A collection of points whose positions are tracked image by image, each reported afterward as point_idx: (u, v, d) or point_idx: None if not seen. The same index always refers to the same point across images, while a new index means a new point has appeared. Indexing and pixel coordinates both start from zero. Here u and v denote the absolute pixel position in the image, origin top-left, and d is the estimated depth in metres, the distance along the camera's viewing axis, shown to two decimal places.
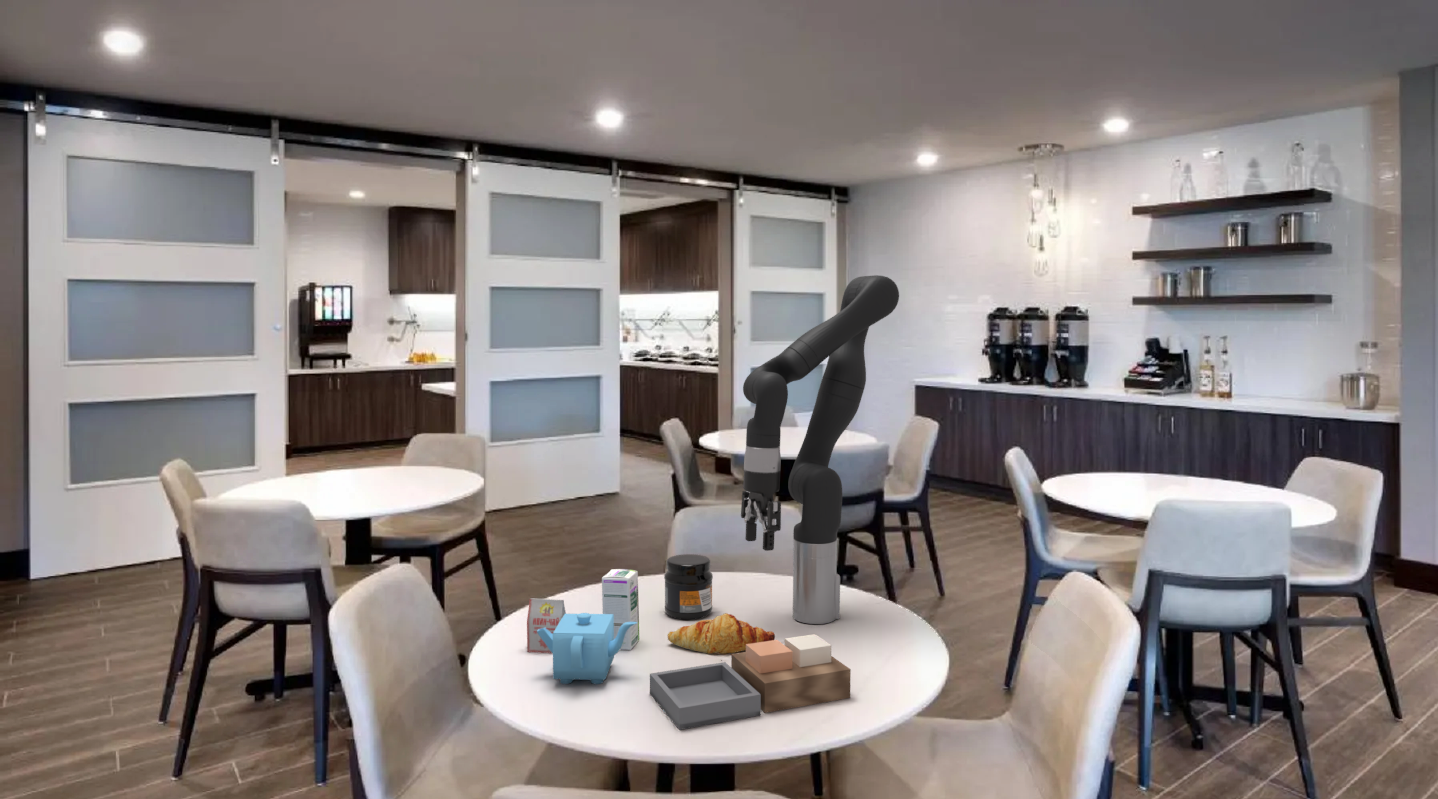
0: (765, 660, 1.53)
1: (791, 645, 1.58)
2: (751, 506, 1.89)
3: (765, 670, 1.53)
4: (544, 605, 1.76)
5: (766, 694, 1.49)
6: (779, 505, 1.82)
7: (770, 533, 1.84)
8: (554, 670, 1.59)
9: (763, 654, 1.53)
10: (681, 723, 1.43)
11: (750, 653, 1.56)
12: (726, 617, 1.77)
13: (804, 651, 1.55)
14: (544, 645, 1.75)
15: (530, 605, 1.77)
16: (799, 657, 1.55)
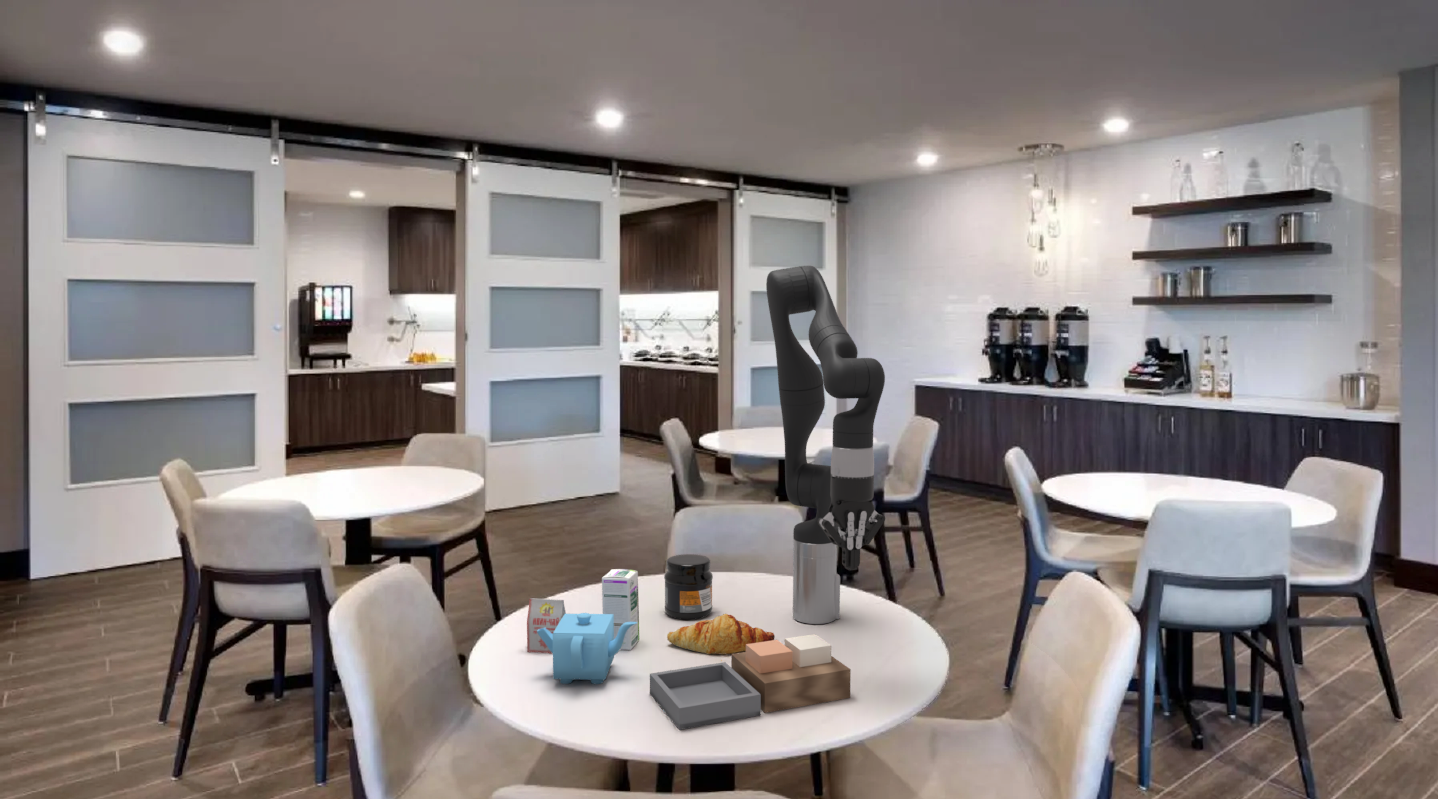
0: (765, 660, 1.53)
1: (791, 645, 1.58)
2: None
3: (765, 670, 1.53)
4: (544, 605, 1.76)
5: (766, 694, 1.49)
6: None
7: None
8: (554, 670, 1.59)
9: (763, 654, 1.53)
10: (681, 723, 1.43)
11: (750, 653, 1.56)
12: (725, 617, 1.77)
13: (804, 651, 1.55)
14: (544, 645, 1.75)
15: (529, 605, 1.77)
16: (799, 657, 1.55)
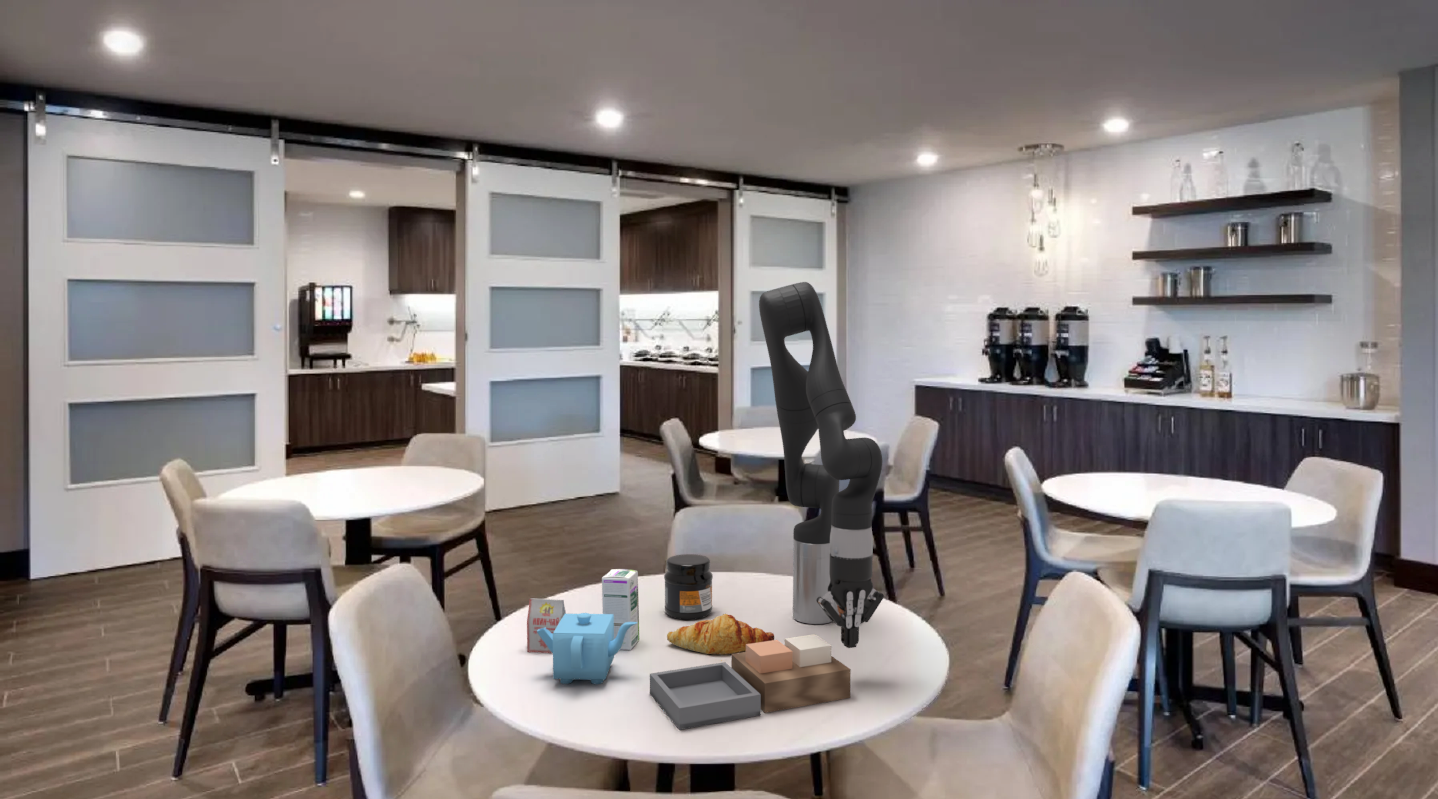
0: (765, 660, 1.53)
1: (791, 645, 1.58)
2: None
3: (765, 670, 1.53)
4: (544, 605, 1.76)
5: (766, 694, 1.49)
6: None
7: None
8: (554, 670, 1.59)
9: (763, 654, 1.53)
10: (681, 723, 1.43)
11: (750, 653, 1.56)
12: (725, 617, 1.77)
13: (804, 651, 1.55)
14: (544, 645, 1.75)
15: (529, 605, 1.77)
16: (799, 657, 1.55)
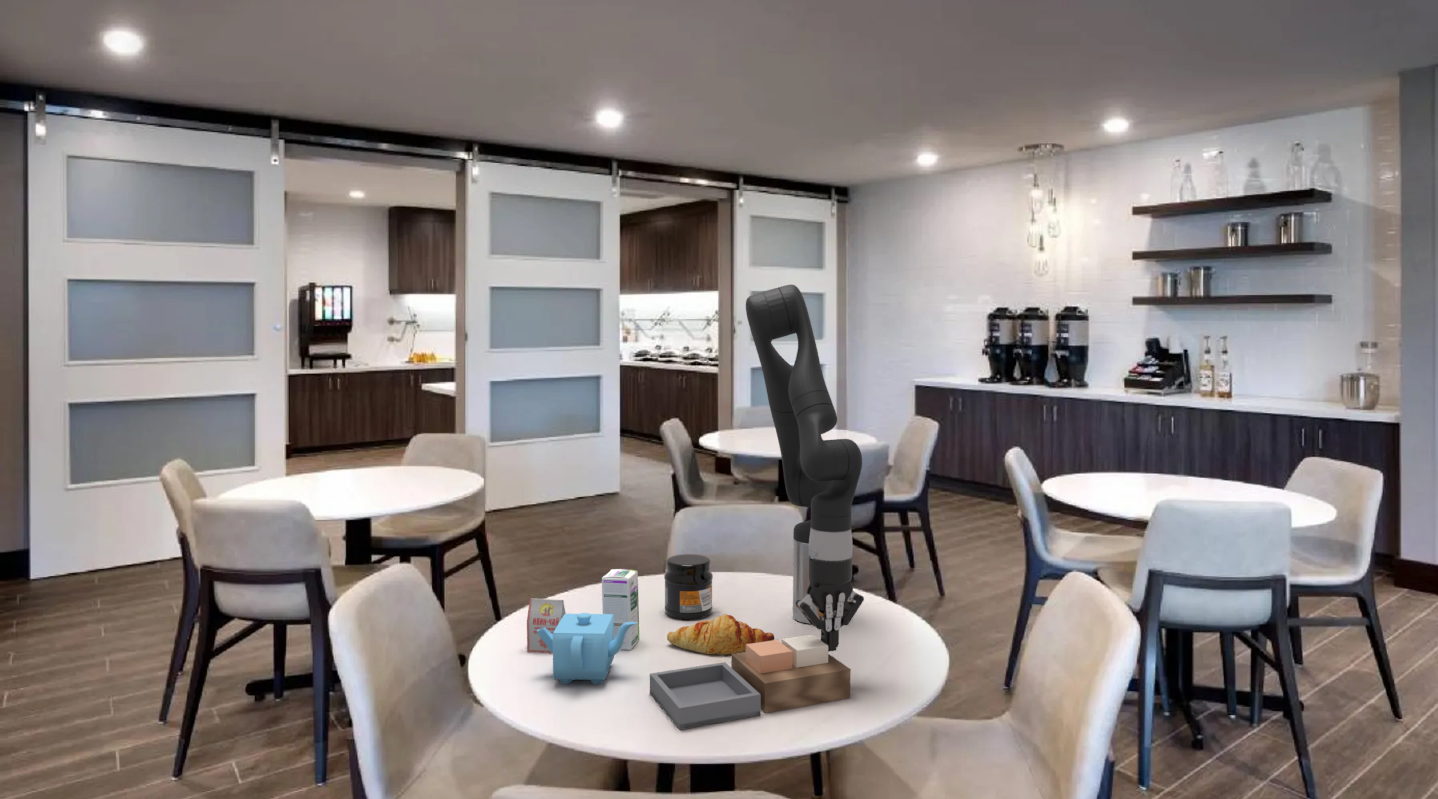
0: (765, 660, 1.53)
1: (788, 645, 1.58)
2: None
3: (765, 670, 1.53)
4: (544, 605, 1.76)
5: (766, 694, 1.49)
6: None
7: None
8: (554, 670, 1.59)
9: (763, 654, 1.53)
10: (681, 723, 1.43)
11: (750, 653, 1.56)
12: (725, 618, 1.77)
13: (801, 652, 1.55)
14: (544, 645, 1.75)
15: (529, 605, 1.77)
16: (796, 657, 1.55)
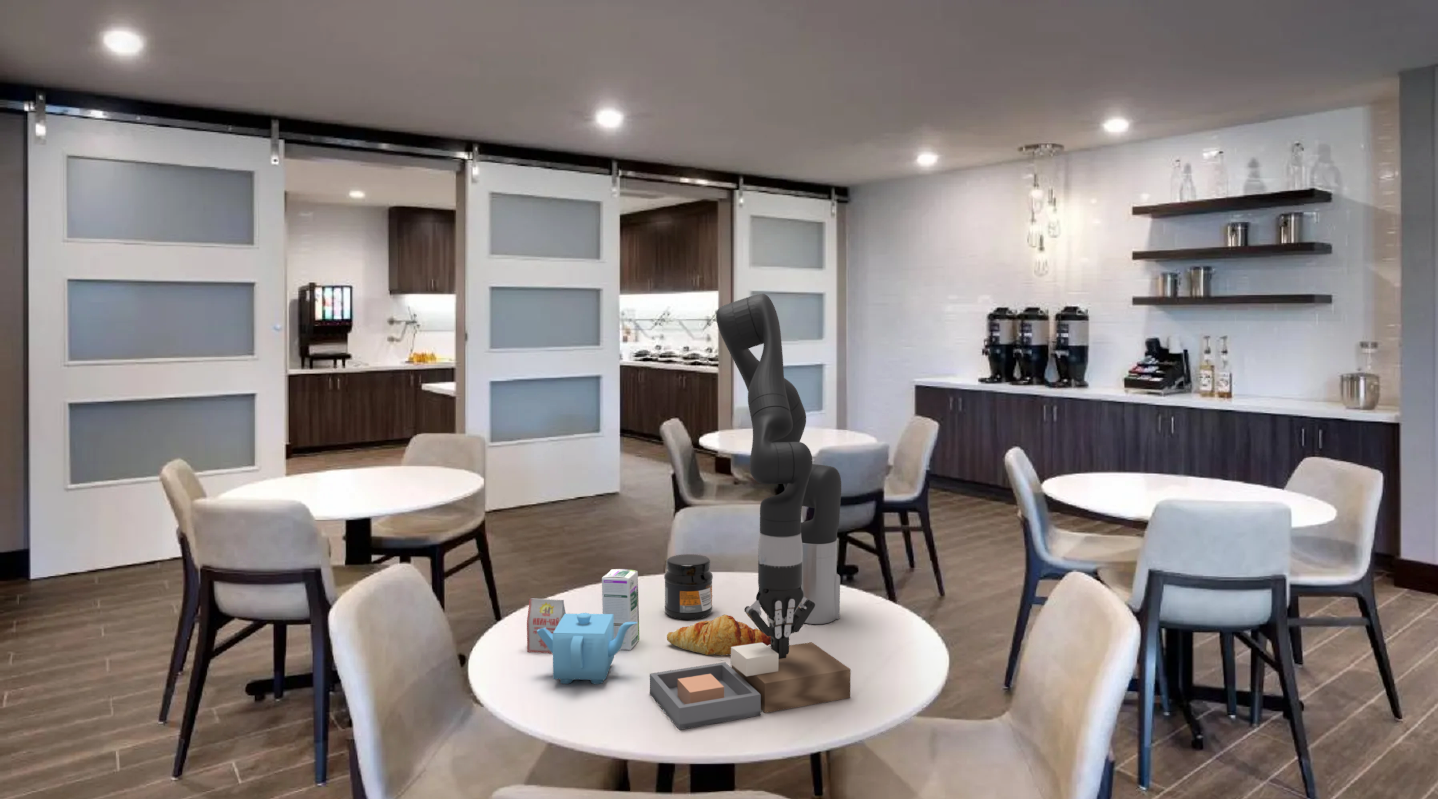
0: None
1: (737, 654, 1.54)
2: None
3: (718, 690, 1.50)
4: (544, 605, 1.76)
5: (766, 694, 1.49)
6: None
7: None
8: (554, 670, 1.59)
9: None
10: (681, 723, 1.43)
11: None
12: (725, 618, 1.76)
13: (751, 660, 1.51)
14: (544, 645, 1.75)
15: (529, 605, 1.77)
16: (746, 666, 1.51)
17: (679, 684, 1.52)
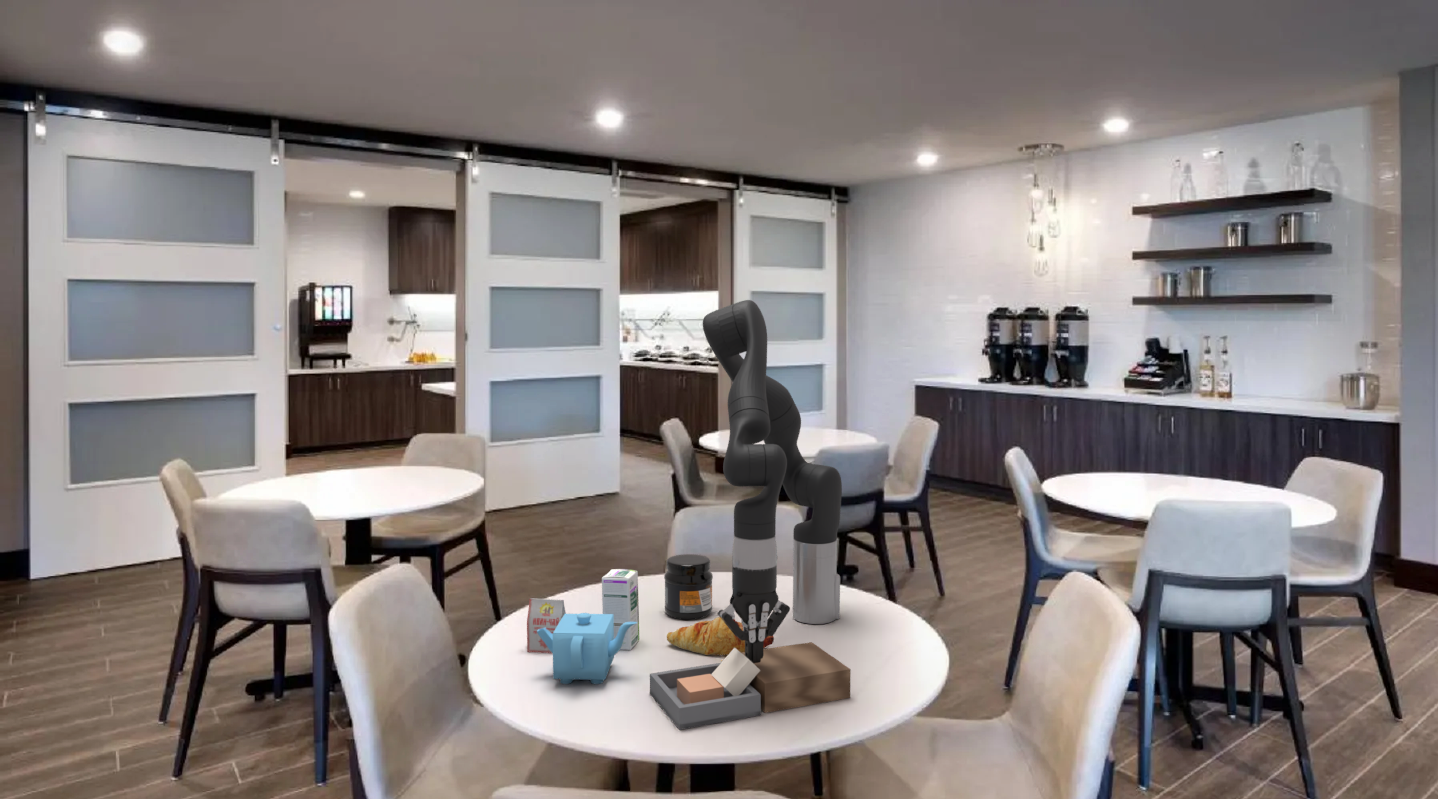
0: None
1: (718, 681, 1.52)
2: None
3: (718, 690, 1.50)
4: (544, 605, 1.76)
5: (766, 694, 1.49)
6: None
7: None
8: (554, 670, 1.59)
9: None
10: (681, 723, 1.43)
11: None
12: None
13: (729, 685, 1.49)
14: (544, 645, 1.75)
15: (529, 605, 1.77)
16: None
17: (678, 684, 1.52)
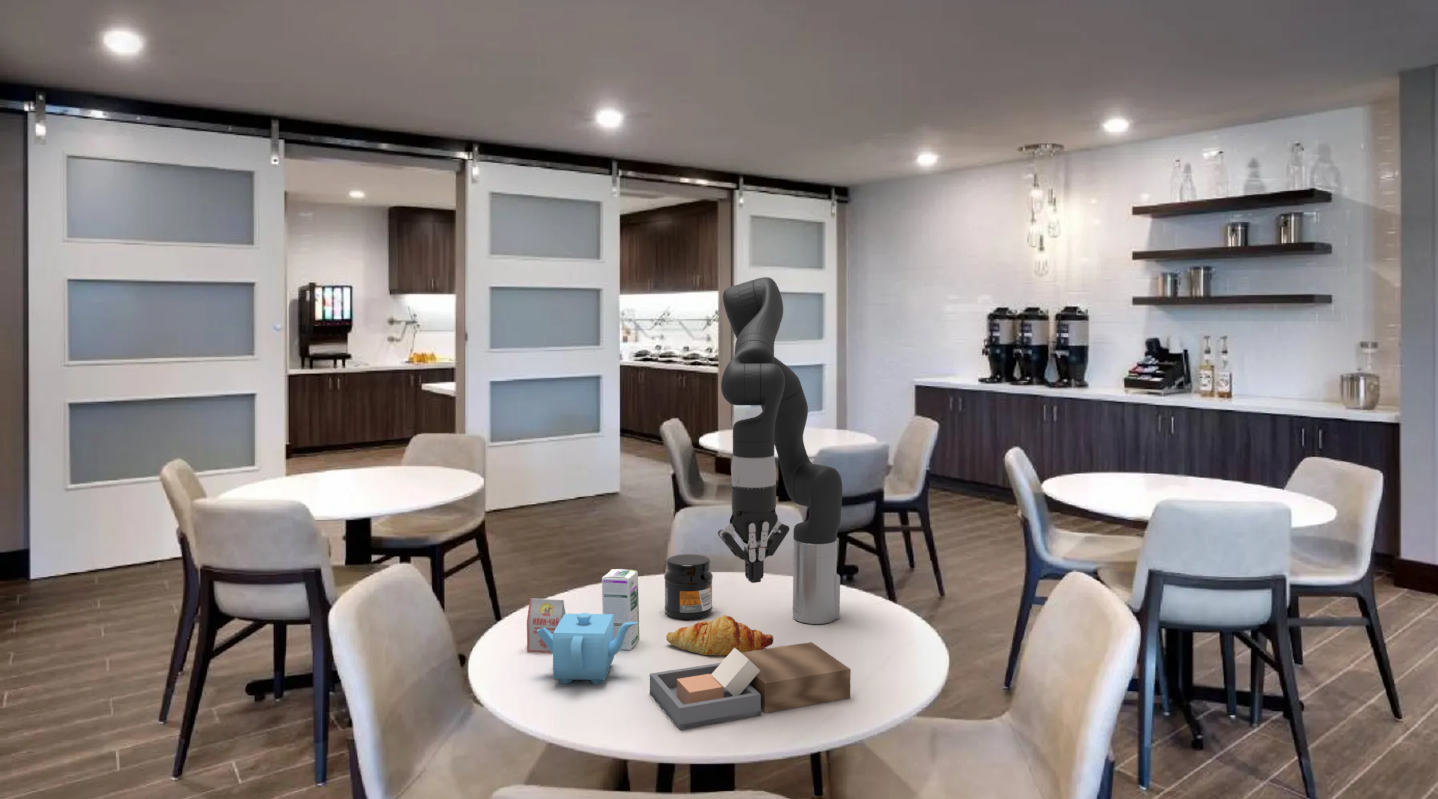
0: None
1: (718, 681, 1.52)
2: None
3: (718, 690, 1.50)
4: (544, 605, 1.76)
5: (766, 694, 1.49)
6: None
7: None
8: (554, 670, 1.59)
9: None
10: (681, 723, 1.43)
11: None
12: (724, 619, 1.76)
13: (729, 685, 1.49)
14: (544, 645, 1.75)
15: (529, 605, 1.77)
16: None
17: (678, 684, 1.52)
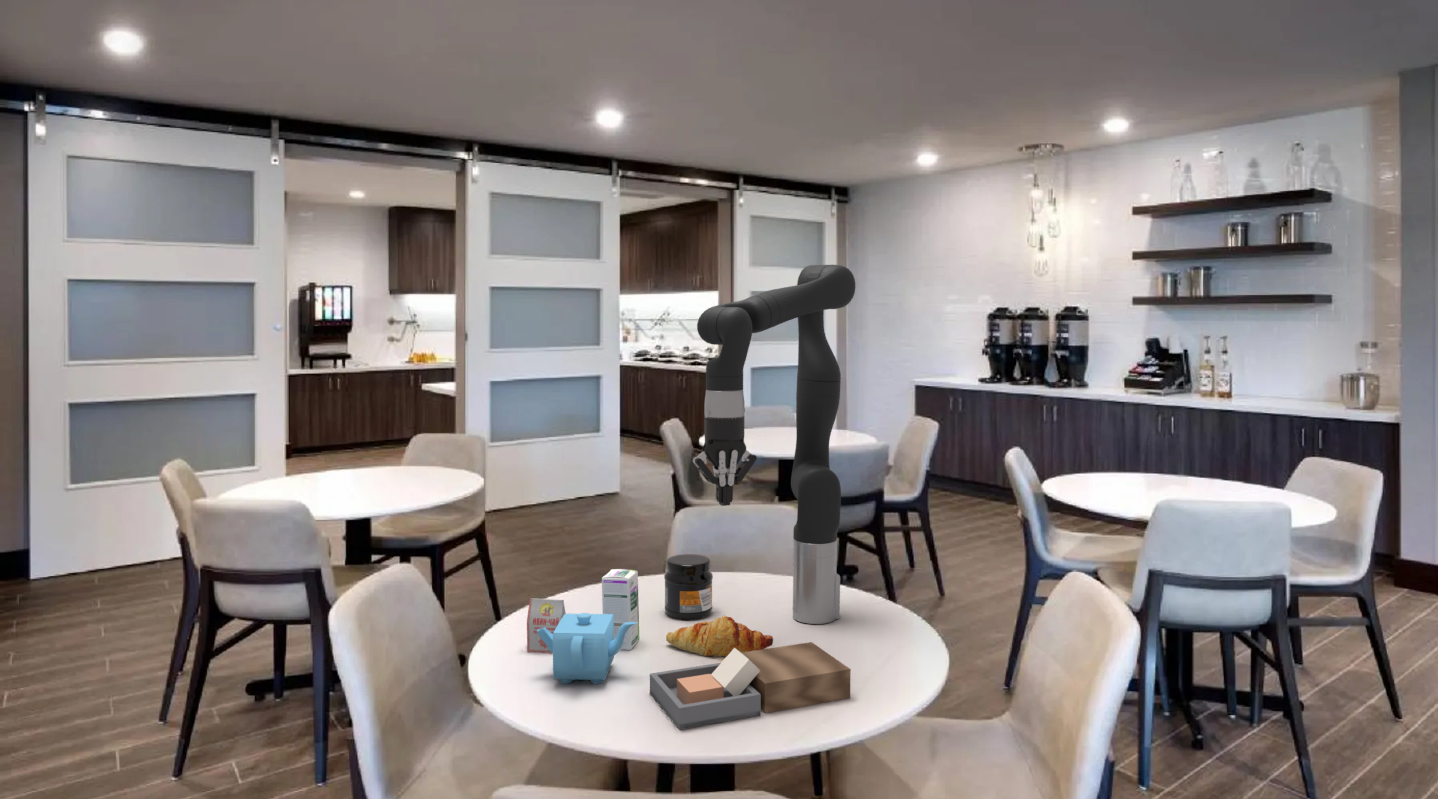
0: None
1: (718, 681, 1.52)
2: None
3: (718, 690, 1.50)
4: (544, 605, 1.76)
5: (766, 694, 1.49)
6: None
7: None
8: (554, 670, 1.59)
9: None
10: (681, 723, 1.43)
11: None
12: (724, 619, 1.76)
13: (729, 685, 1.49)
14: (544, 645, 1.75)
15: (529, 605, 1.77)
16: None
17: (678, 684, 1.52)
